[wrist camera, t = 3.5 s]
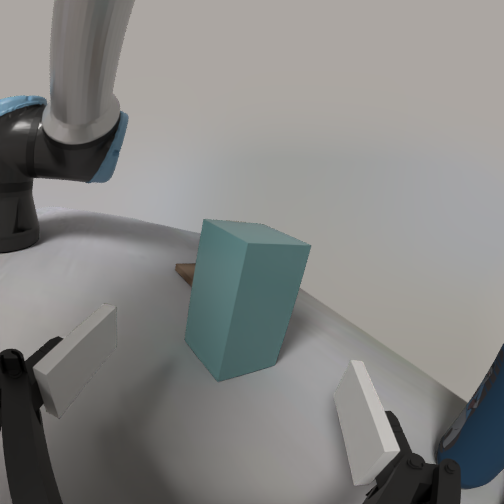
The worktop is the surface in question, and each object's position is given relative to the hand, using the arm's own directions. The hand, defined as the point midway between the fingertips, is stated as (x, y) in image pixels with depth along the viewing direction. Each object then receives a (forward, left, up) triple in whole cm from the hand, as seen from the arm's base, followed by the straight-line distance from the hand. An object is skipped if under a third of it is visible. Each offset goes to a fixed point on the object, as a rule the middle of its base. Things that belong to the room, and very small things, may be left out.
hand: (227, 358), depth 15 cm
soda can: (+16, +13, -7) cm, 21 cm away
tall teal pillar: (-7, +6, -7) cm, 12 cm away
